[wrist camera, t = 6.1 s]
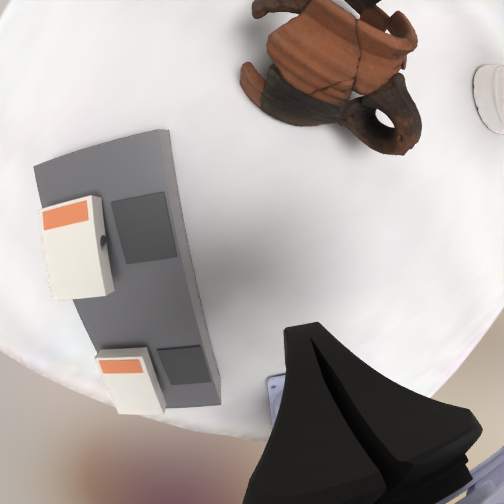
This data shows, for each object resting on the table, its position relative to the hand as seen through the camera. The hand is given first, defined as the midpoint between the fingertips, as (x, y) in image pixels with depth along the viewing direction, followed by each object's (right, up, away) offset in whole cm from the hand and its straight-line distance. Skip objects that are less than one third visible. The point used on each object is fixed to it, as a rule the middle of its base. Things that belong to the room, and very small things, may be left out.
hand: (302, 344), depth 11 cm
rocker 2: (-10, -5, +7) cm, 13 cm away
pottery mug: (+2, +15, +5) cm, 16 cm away
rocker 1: (-11, +4, +3) cm, 12 cm away
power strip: (-10, +1, +9) cm, 13 cm away
